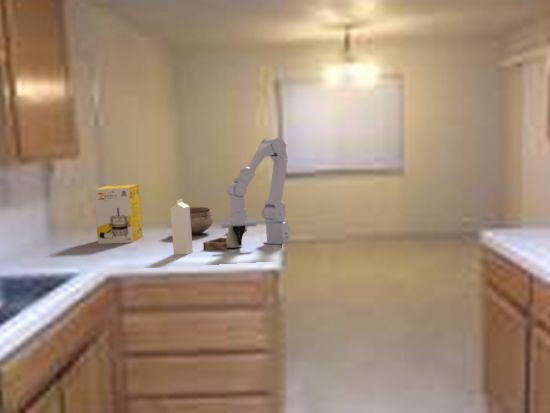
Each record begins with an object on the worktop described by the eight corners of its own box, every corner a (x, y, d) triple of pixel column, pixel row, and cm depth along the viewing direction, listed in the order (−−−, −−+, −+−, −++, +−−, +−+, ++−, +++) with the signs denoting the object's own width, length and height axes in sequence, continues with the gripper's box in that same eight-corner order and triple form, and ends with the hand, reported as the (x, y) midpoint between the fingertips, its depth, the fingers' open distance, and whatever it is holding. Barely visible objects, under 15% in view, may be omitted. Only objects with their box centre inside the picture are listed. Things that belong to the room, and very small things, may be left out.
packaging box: (98, 243, 324) (93, 189, 321) (109, 237, 340) (105, 186, 337) (132, 242, 322) (128, 187, 319) (142, 236, 338) (138, 184, 335)
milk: (173, 254, 285) (169, 200, 282) (179, 252, 290) (175, 198, 288) (187, 254, 283) (183, 199, 280) (193, 251, 289) (189, 198, 286)
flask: (245, 246, 294) (243, 222, 293) (234, 248, 288) (232, 224, 287) (231, 245, 298) (230, 222, 297) (220, 248, 292) (219, 224, 292)
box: (241, 245, 297) (241, 238, 297) (225, 250, 287) (224, 243, 286) (220, 244, 303) (220, 237, 302) (203, 249, 293) (203, 242, 292)
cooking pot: (181, 230, 350) (180, 206, 349) (219, 229, 347) (217, 204, 346) (166, 239, 325) (164, 213, 324) (206, 238, 323) (205, 211, 321)
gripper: (255, 209, 293) (257, 241, 294) (220, 211, 292) (222, 244, 293) (256, 211, 286) (258, 244, 287) (220, 213, 285) (222, 246, 286)
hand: (239, 244), depth 290 cm, fingers closed
